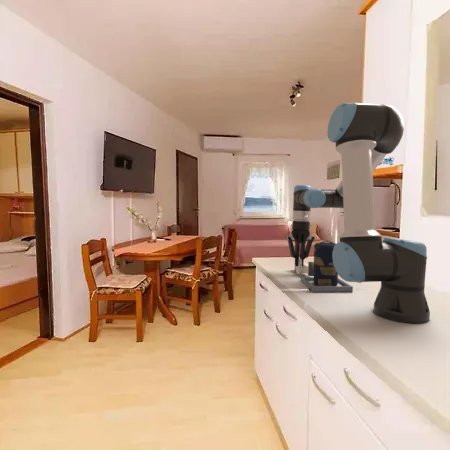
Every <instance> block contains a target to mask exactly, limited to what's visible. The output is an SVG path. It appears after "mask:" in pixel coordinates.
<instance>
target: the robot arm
mask: <svg viewBox="0 0 450 450" xmlns="http://www.w3.org/2000/svg"><path fill="white" fill-rule="evenodd" d="M404 131H405V122H404V118H403V116H402V114H401V113H400V112H399V110H398V109H397V108H395V107H394V106H393V105H388V104H377V103H362V102H361V103H360V102H355V101H352V102H342V103H340V104H338V105H337V106H336V107H335V109H334V110H333V111H332V113H331V115H330V118H329V121H328V125H327V131H326V132H327V139H328V141H329V142H331V143H335V151H336V152H337V153H339V154H340V156H341V178H342V179H341V181H340V183H339V184H338V185H337V187H336V189H320V188H319V189H318V188H312V186H311V185H307V184H305V185H304V184H298V185H297V184H296V185H294V188H293V189H294V190H293V199H292V201H293V204H292V205H293V207H292V225H291V226H292V227H291V232H290V234H289V235H286V236H285V238H286V241H287V243H288V249H289V253H290V257H292V258H293V259H294V267H295V266H296V273H295V274H298V275H302V273H301V269H302V266H303V265H304V263H305V261H304V260H305V259H308V257H309V255H310V252H311V248H312V245H313V241H314V240H315V236H313V235H311V231H310V228H311V222H310V220H311V209H318V208H319V209H323V208H324V209H325V208H329V209H343V224H344V225H343V226H344V231H343V233H341V235H340V236H339V241H338V242H337V243H335V246H334V248H333V249H334V250H333V252H332V258H333V264H334V267H335V270H336V272H337V273H338V277H339V278H340V279H341V280H342V281H344V282H349V283H359V284H361V283H372V282H373V283H375V282H377V283H378V282H380V288H379V290H378V292H377V295H376V298H375V300H374V302H373V312H374V313H375V314H376V315H378V316H380V317H382V318H385V319H388V320H391V321H396V322H401V323H408V324H420V323H421V324H422V323H427V322H428V321H430V319H431V318H430V316H431V311H430V308H429V304H428V301H427V298H426V294H425V285H426V273H427V272H426V271H427V261H428V260H427V259H428V256H427V250H428V249H427V246H426V244H424V243H423V242H420V241H413V240H409V239H408V240H407V239H404V238H402V239H401V238H396V237H395V238H394V237H388V236H386V237H385V236H384V237H383V238H382V235H381V234H380V232H378V231H377V230H376V215H375V214H376V213H375V196H374V195H375V194H374V193H375V192H374V175H373V173H374V171H375V170H376V169H377V167H378V166H379V165H380V164H381V162H382V161H383V160H384V158H385V157H386V156H387V155H389V154H392V153H393V152H394V151H395V149H396V148H397V147H398V146H399V145H400V142H401V140H402V138H403V136H404ZM293 239H294V242H293Z"/></svg>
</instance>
